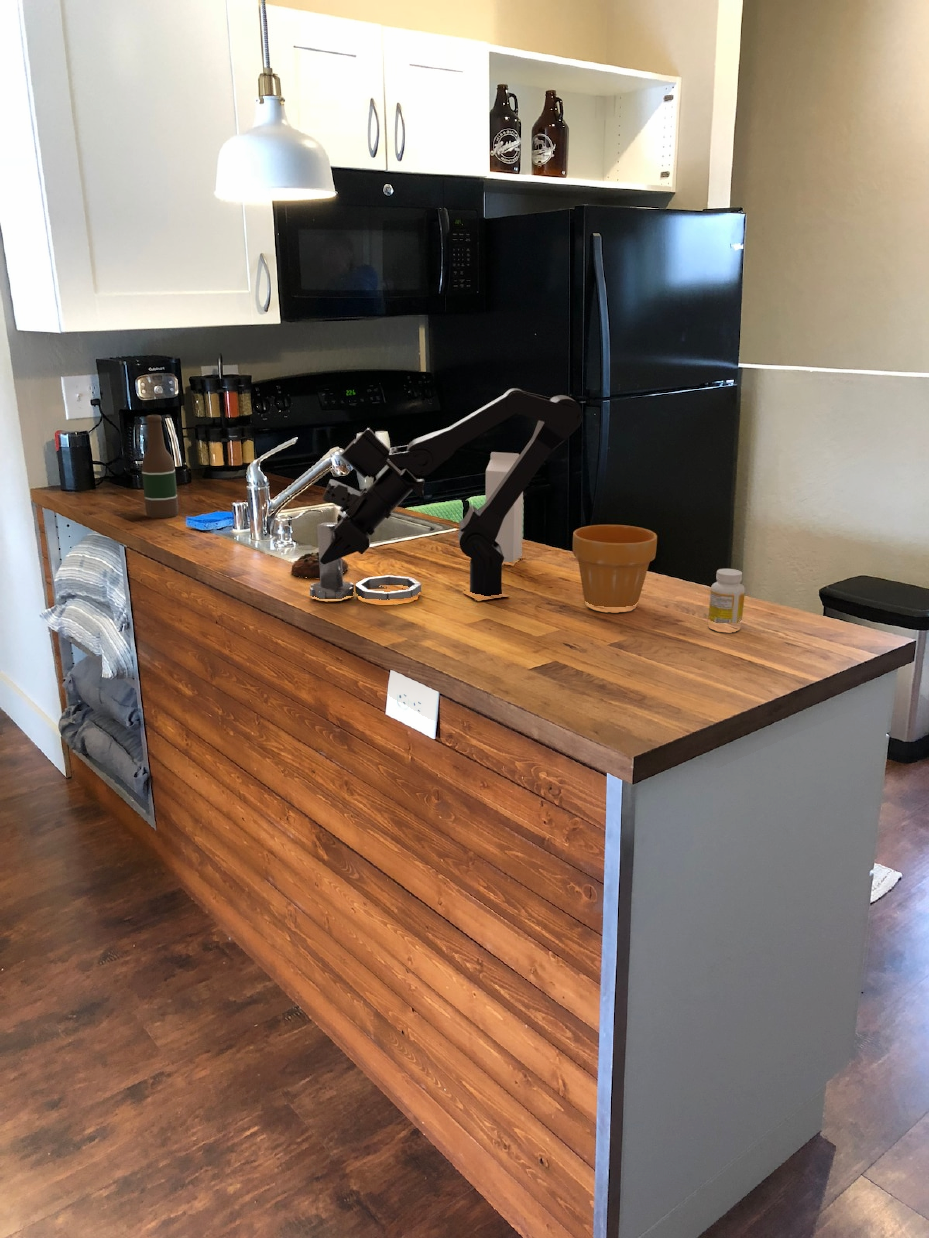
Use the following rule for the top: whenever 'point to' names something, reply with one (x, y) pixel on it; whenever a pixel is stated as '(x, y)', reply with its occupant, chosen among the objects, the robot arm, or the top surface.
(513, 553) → the milk
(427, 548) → the top surface
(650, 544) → the flower pot
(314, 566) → the bread roll
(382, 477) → the robot arm
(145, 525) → the top surface
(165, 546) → the top surface
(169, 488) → the beer bottle
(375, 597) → the grey octagonal ring
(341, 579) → the grey cylinder with base
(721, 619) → the supplement bottle
